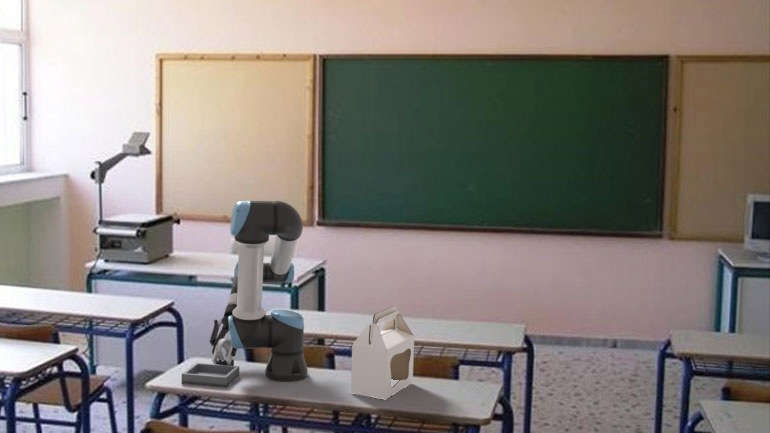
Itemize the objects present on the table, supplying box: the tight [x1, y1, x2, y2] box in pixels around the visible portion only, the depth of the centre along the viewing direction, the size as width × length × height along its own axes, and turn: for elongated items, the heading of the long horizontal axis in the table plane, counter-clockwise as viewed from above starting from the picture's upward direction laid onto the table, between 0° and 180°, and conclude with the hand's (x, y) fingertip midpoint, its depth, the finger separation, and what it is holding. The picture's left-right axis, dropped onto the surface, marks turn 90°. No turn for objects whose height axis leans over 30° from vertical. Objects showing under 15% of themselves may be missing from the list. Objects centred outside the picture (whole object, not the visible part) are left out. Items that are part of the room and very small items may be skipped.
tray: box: [181, 362, 240, 388], centre depth 329 cm, size 16×14×4 cm
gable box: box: [350, 305, 415, 399], centre depth 323 cm, size 22×13×28 cm, turn 154°
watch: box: [216, 337, 235, 366], centre depth 342 cm, size 6×8×11 cm
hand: (221, 362), depth 339 cm, fingers closed on watch, 5 cm apart
